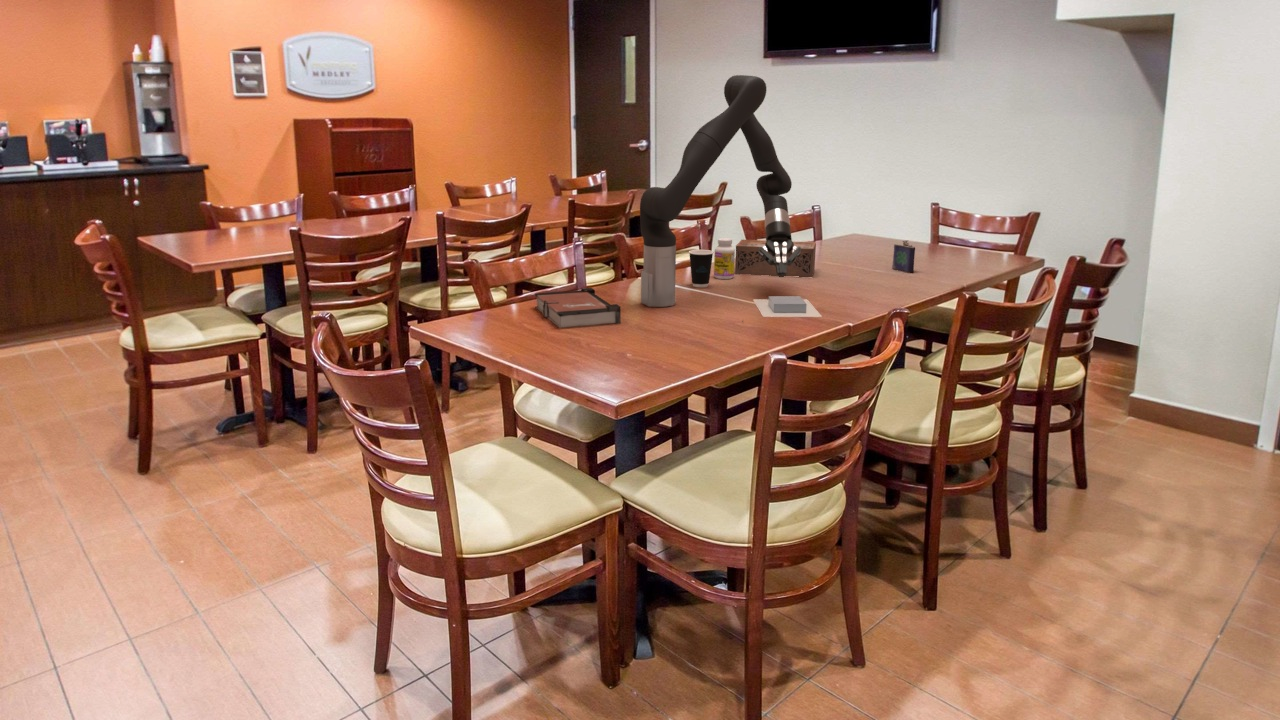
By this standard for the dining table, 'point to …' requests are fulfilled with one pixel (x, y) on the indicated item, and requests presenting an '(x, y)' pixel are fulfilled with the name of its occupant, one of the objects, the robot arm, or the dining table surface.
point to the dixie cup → (700, 267)
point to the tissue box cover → (756, 265)
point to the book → (577, 309)
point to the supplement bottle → (724, 259)
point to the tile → (787, 304)
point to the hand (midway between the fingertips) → (782, 275)
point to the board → (767, 312)
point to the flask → (903, 257)
